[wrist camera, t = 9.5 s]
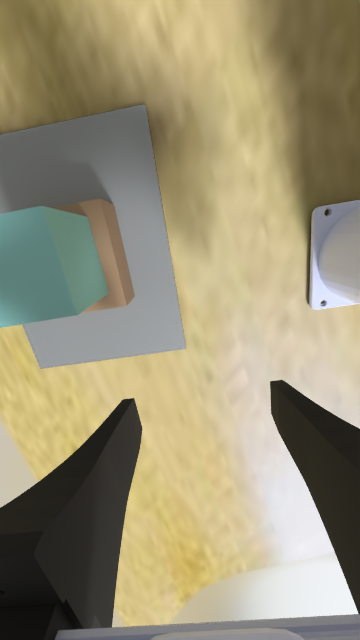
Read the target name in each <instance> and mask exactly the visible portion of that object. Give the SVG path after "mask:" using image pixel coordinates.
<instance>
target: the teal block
mask: <svg viewBox="0 0 360 640" xmlns="http://www.w3.org/2000/svg"><path fill="white" fill-rule="evenodd" d="M108 293H109V291H108V288H107V284H106V280H105V277H104V273H103V270H102V266H101V263H100V259H99V255H98V252H97V248H96V245H95V241H94V237H93V234H92V230H91V227H90V223H89V219H88V217H87V216H82V215H78V214H74V213H70V212H66V211H61V210H57V209H53V208H49V207H45V206H38V207H33V208H28V209H23V210H18V211H13V212H8V213H3V214H0V328H2V327H8V326H14V325H21V324H27V323H33V322H39V321H45V320H51V319H57V318H63V317H69V316H75V315H79V314H80V313H82V312H83V311H84V310H86V309H87V308H89V307H90V306H92V305H93V304H94V303H96V302H97V301H99V300H100V299H101V298H103V297H104V296H106V295H107V294H108Z"/></svg>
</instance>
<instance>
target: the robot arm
mask: <svg viewBox="0 0 360 640" xmlns="http://www.w3.org/2000/svg"><path fill="white" fill-rule="evenodd" d="M326 209H327V210H328V212H329V213H328V215H327V216H325V214H324V212H325V210H326ZM323 300H324V304H323V305H321V302H322V301H323ZM354 304H360V200H354V201H349V202H343V203H337V204H331V205H325V206H320V207H317V208H315V209H314V210H313V212H312V221H311V259H310V296H309V305H310V307H311V308H312V309H314V310H319V309H326V308H333V307H340V306H347V305H354ZM270 388H271V414H272V416H273V419H274V421H275V424H276V427H277V429H278V431H279V434H280V435H281V437H282V439H283V441H284V443H285V445H286V447H287V449H288V451H289V452H290V454H291V456H292V458H293V460H294V462H295V463H296V465H297V467H298V469H299V471H300V473H301V475H302V476H303V478H304V480H305V483H306V485H307V487H308V489H309V491H310V493H311V496H312V498H313V500H314V503H315V505H316V507H317V510H318V512H319V514H320V517H321V519H322V521H323V524H324V526H325V529H326V531H327V533H328V536H329V538H330V541H331V543H332V546H333V548H334V551H335V553H336V555H337V558H338V561H339V563H340V566H341V568H342V571H343V573H344V576H345V579H346V581H347V584H348V586H349V589H350V592H351V595H352V597H353V600H354V602H355V605H356V608H357V610H358V613H359V614H356V615H355V614H354V615H336V616H317V617H301V618H300V617H299V618H280V619H262V620H244V621H226V622H207V623H189V624H169V625H150V626H132V627H115V628H112V619H113V609H114V599H115V589H116V580H117V571H118V563H119V554H120V547H121V540H122V532H123V525H124V519H125V512H126V505H127V500H128V495H129V491H130V487H131V483H132V479H133V475H134V470H135V466H136V462H137V458H138V454H139V449H140V443H141V435H142V426H141V422H140V418H139V414H138V411H137V407H136V403H135V400H134V398H132V399H124V400H122V401H121V402H120V404H119V405H118V406H117V407H116V408H115V410H114V411H113V412H112V413H111V414H110V415H109V417H108V418H107V419H106V420H105V421H104V422H103V423H102V425H101V426H100V427H99V428H98V429H97V430H96V431H95V432H94V433H93V434H92V435H91V436H90V437H89V438H88V440H87V441H86V442H85V443H84V444H83V445H82V446H81V447H80V448H79V449H77V450H76V451H75V452H74V453H73V454H72V455H71V456H70V457H69V458H68V459H66V460H65V461H64V462H63V463H62V464H61V465H59V466H58V467H57V468H56V469H54V470H53V471H52V472H51V473H49V474H48V475H47V476H46V477H44V478H43V479H42V480H41V481H39V482H38V483H36V484H35V485H34V486H32V487H31V488H30V489H28V490H27V491H25V492H24V493H22V494H21V495H20V496H18V497H17V498H15V499H14V500H12V501H11V502H9V503H7V504H6V505H4V506H3V507H1V508H0V640H360V429H359V428H357V427H355V426H353V425H351V424H350V423H348V422H346V421H344V420H342V419H340V418H339V417H337V416H335V415H334V414H332V413H330V412H329V411H327V410H325V409H324V408H322V407H321V406H319V405H318V404H316V403H315V402H313V401H312V400H310V399H309V398H307V397H306V396H304V395H303V394H301V393H300V392H299V391H297V390H296V389H294V388H293V387H292V386H290V385H289V384H288V383H286V382H285V381H283V380H278V381H270Z"/></svg>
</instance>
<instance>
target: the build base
mask: <svg viewBox="0 0 360 640" xmlns="http://www.w3.org/2000/svg"><path fill="white" fill-rule="evenodd" d="M38 206H45V207H49V208H53V209H57V210H61V211H66V212H70V213H74V214H78V215H82V216H87V217H88V219H89V223H90V227H91V230H92V234H93V237H94V241H95V245H96V248H97V252H98V255H99V259H100V263H101V266H102V270H103V273H104V277H105V280H106V284H107V288H108V291H109V293H108V294H107V295H106V296H104V297H103V298H101V299H100V300H99V301H97V302H96V303H94V304H93V305H92V306H90V307H89V308H87V309H86V310H84V311H83V312H82V313H80V314H79V315H75V316H69V317H63V318H57V319H51V320H45V321H39V322H33V323H27V324H22V325H23V328H24V330H25V333H26V335H27V337H28V340H29V342H30V345H31V347H32V350H33V352H34V354H35V357H36V359H37V362H38V364H39V366H40V369H43V368H50V367H57V366H65V365H72V364H79V363H87V362H94V361H101V360H109V359H116V358H123V357H131V356H138V355H145V354H153V353H160V352H167V351H175V350H182V349H186V344H185V338H184V332H183V326H182V320H181V314H180V308H179V302H178V296H177V290H176V284H175V278H174V272H173V266H172V260H171V254H170V248H169V242H168V236H167V230H166V224H165V218H164V212H163V206H162V200H161V194H160V188H159V182H158V176H157V170H156V164H155V158H154V152H153V146H152V140H151V134H150V128H149V122H148V116H147V110H146V106H145V104H142V105H137V106H132V107H128V108H123V109H118V110H113V111H109V112H104V113H99V114H95V115H90V116H85V117H81V118H76V119H71V120H66V121H62V122H57V123H52V124H48V125H43V126H38V127H34V128H29V129H24V130H19V131H15V132H10V133H5V134H1V135H0V214H3V213H8V212H13V211H18V210H23V209H28V208H33V207H38Z"/></svg>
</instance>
